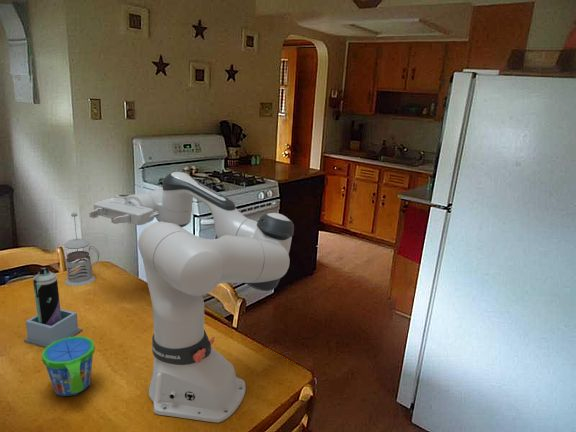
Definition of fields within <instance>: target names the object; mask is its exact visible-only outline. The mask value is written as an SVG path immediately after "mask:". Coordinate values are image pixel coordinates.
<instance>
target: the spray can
mask: <svg viewBox="0 0 576 432" xmlns="http://www.w3.org/2000/svg"><path fill="white" fill-rule="evenodd" d="M32 279H33V280H32V282H33V291H34V300H35V306H36V314H37V316H38V323H42V324H45V325H49V326H52V325H54V324H56V323H57V322H59V321H61V311H60V309H61V303H60V302H61V301H60V294H59V285H58V277H57V274H56V273H55V272H52V271H50V270H49V268H48V266H46V267H41V268H39V272H38V273H37V274H36V275H35V276H33V278H32Z"/></svg>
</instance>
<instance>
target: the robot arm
mask: <svg viewBox="0 0 576 432" xmlns="http://www.w3.org/2000/svg"><path fill="white" fill-rule="evenodd" d="M161 184H162V188H160V189H153V190H150V191H149V192H141V193H134V194H117V195H115V197H111V198H107V199H103V200H99V201H96V202H95V203H94V204H93V210H92V211H89V216H88V217H89V218H92V219H96V218H99V216H100V217H104V218H107V219H111V224H115V225H118V224H126V223H127V224H131V225H135V226H143V225H146V224H147V223H150V222H152V221H154V220H155V218H156V221H154V222H152V223H150V224H148V225H147V226H146V227H145V228H144V229H143V230H142V231H141V232H140V234H139V237H138V241H137V242H138V243H137V246H138V250H139V252H140V255H141V258H142V262H143V267H144V272H145V278H146V282H147V287H148V291H149V295H150V301H151V306H152V316H153V317H152V318H153V319H152V320H153V321H152V322H153V335H152V336H151V338H152V339H151V341H152V342H151V344H152V345H151V346H152V347H151V348H152V351H151V352H152V354H153V367H152V376H151V379H150V384H149V387H148V395H149V398H150V400H151V401H152V403H153V413H155V414H156V415H158V416H159V415H161V416H168V417H176V418H181V419H189V420H196V421H203V422H210V423H218V424H219V423H222V422H224V421H225V420H227V419H228V418H230V417H231V416H232V415H233V414H234V413H235V412H236V410H238V408H239V406H240V405H241V403H242V401H243V400H244V397H245V395H246V382H245V380H244V379H242V378H240V377H238V376H236V375H237V374H236V370H235V367H234V365H233V363H231V362H230V361H229V360H227V359H226V357H224V355H223V354H222V353H219V352H218V351H217V350H216V349H214V347H213V346H212V345H213V344H214V343H215V336H212V338H211V339H209V336H208V334H207V331H206V330H205V301H204V298H203V296H205V295H207V294H209V293H211V292H212V291H214V290H215V288H216V287H217V286H218V285H220V284H227V283H228V284H230V283H233V284H234V283H235V284H236V283H238V284H239V283H241V284H243V283H244V284H246V285H247V286H248V287H250V288H252V289H254V290H257V291H262V292H269V291H272V290H275V289H276V287H277V286H278V284H279V283H280V281H281V278H283V277H284V276H285V275H286V274H287V272H288V270H289V268H290V260H291V259H290V254H289V253H290V250H291V244H292V240H293V236H294V231H295V225H294V223H293V221H292V220H291V219H289V218H288V217H287V216H285V215H284V214H281V213H278V212H267V213H264V214H261V215H260V217H259V219H258V220H254V219H251V218H248V217H246V216H245V215H244V214H243V213H241V212H240V211H239V210H238V209H237V207H236V205H235V203H234V202H233V200H232V199H229V198H228V197H226V196H224V195H223V194H221V193H219V192H218V191H216V190H214V189H213V188H210V187H208V186H207V185H205V184H203V183H201V182H200V181H198V180H196V179H195V178H194V177H193V176H191V175H190V174H188V173H185V172H181V171H172V172H169V173H168V174H167V175H166V176H165V177H163V179H162V183H161ZM194 199H195V200H197V201H198V202H199V201H200V203H202V204H204V205H206V206H207V208H208V209H209V210H210V213H211V216H212V220H213V222H214V228H215V234H216V237H217V238H212V239H211V238H203V237H201V236H198V235H195V234H193V233H191V232H190V231H188V230H186V229H185V228H184V227H186V226H187V225H189V224H190V223H191V220H192V212H193V202H194Z"/></svg>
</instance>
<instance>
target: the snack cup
mask: <svg viewBox="0 0 576 432" xmlns="http://www.w3.org/2000/svg"><path fill="white" fill-rule="evenodd" d="M95 347H96V346H95V343H94V341H93V340H92V339H91V338H89V337H86V336H77V335H76V336H74V337H68V338H64V339H60V340H58V341H55V342H53V343H52V344H50V345H49V346H47V347H46V348H44V349H43V350H42V352H41V361H42V363H43V364H44V365H45V368H46V371H47V374H48V377H49V380H50V381H51V382H50V383H51V385H52V387H53V391H54V392H55V393H56V394H57V395H58V396H63V397H67V396H69V397H70V396H76V395H78V394H79V393H82V392H83V391H84V390H86V389H87V388H88V387H89V386H90V384H91V379H92V368H93V360H94V359H93V358H94V357H93V356H94V354H95Z"/></svg>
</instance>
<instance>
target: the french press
mask: <svg viewBox="0 0 576 432" xmlns="http://www.w3.org/2000/svg"><path fill="white" fill-rule="evenodd" d="M71 217H73V219H74V221H76V217H78V212H77V213H76V212H72V213H71ZM76 225H77V224H76V223H74V230H75V232H77V226H76ZM89 245H90V241H89V240H87V239H85V238H78V236H77V234H75V238H72V239H70V240H68V241H66V242H65V243H64V244H63V247H64V248H65V249H68V250H75V251H71V252H68V253H67V254H66V259H65V263H66V271H67V272H66V273H67V278H66V279H65V280H64V283H65V285H66V286H72V287H79V286H86V285H88V284H92V282H95V280H96V276H94V275H93V267H96V265H97V264H98V263H99V260H100V251H98V249H97V248H96V247H94V246H92V245H90V246H89ZM88 246H89V248H88V251H85V250H79V249H85V248H86V247H88ZM91 250H93V251H94V252H95V253H96V254H97V260H96V261H95V262H94V263H91V256H90V251H91ZM85 284H86V285H85Z"/></svg>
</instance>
